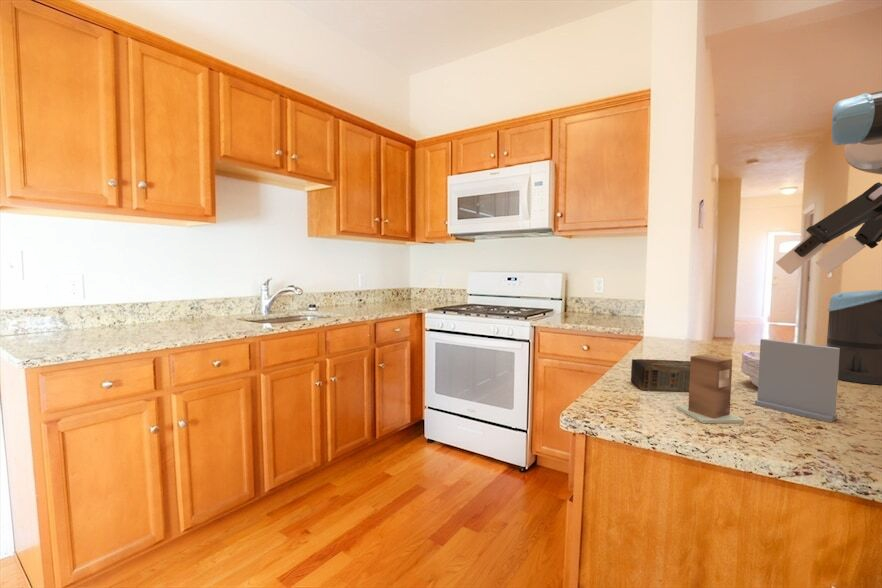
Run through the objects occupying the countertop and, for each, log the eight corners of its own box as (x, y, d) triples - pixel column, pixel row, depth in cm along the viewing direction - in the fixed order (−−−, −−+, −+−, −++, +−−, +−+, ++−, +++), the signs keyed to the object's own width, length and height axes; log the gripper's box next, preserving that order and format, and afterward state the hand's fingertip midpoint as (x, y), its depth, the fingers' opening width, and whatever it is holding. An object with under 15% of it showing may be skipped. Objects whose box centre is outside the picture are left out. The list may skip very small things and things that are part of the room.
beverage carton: (726, 394, 94) (727, 366, 94) (641, 392, 96) (642, 364, 95) (707, 384, 102) (708, 358, 102) (628, 382, 104) (629, 357, 103)
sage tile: (714, 408, 84) (714, 405, 84) (743, 422, 76) (744, 419, 76) (676, 408, 84) (676, 405, 84) (702, 423, 76) (702, 420, 76)
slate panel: (754, 404, 86) (758, 340, 85) (762, 401, 88) (765, 338, 87) (830, 422, 76) (835, 349, 75) (837, 418, 78) (841, 347, 77)
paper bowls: (842, 399, 90) (844, 364, 89) (772, 399, 90) (774, 364, 89) (785, 380, 105) (787, 350, 104) (726, 380, 105) (727, 350, 105)
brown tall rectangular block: (703, 406, 83) (705, 354, 83) (729, 414, 79) (732, 359, 78) (688, 410, 81) (690, 356, 80) (714, 418, 77) (717, 361, 76)
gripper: (936, 168, 49) (783, 285, 64) (998, 184, 60) (854, 281, 75) (878, 136, 54) (747, 252, 68) (945, 157, 64) (819, 253, 79)
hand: (803, 268), depth 71 cm, fingers open, 13 cm apart
